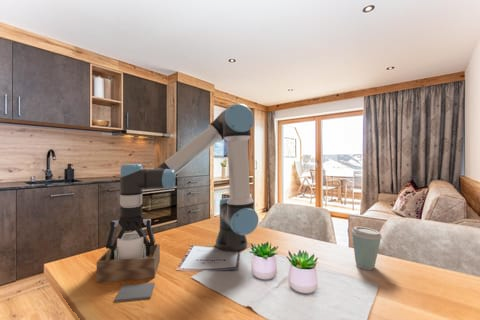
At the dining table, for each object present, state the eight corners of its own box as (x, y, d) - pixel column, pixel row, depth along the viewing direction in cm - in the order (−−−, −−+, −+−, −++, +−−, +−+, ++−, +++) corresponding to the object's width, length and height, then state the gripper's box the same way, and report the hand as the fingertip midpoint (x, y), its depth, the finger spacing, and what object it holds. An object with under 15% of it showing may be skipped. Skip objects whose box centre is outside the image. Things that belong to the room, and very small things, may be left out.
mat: (154, 284, 80) (154, 282, 80) (150, 298, 72) (150, 296, 72) (122, 287, 78) (122, 285, 78) (114, 302, 70) (114, 299, 70)
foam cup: (134, 278, 83) (134, 241, 83) (111, 275, 85) (111, 239, 85) (149, 266, 92) (149, 233, 92) (128, 263, 94) (128, 231, 94)
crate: (159, 260, 97) (159, 244, 97) (154, 277, 84) (154, 258, 84) (110, 264, 93) (110, 246, 93) (96, 282, 80) (96, 262, 80)
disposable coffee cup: (366, 259, 101) (367, 224, 101) (388, 271, 90) (389, 232, 90) (345, 261, 98) (345, 225, 98) (364, 274, 88) (365, 234, 88)
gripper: (163, 202, 94) (163, 258, 94) (102, 204, 90) (102, 263, 90) (161, 206, 87) (160, 267, 87) (94, 208, 82) (94, 272, 83)
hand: (131, 265), depth 89 cm, fingers closed on foam cup, 9 cm apart
